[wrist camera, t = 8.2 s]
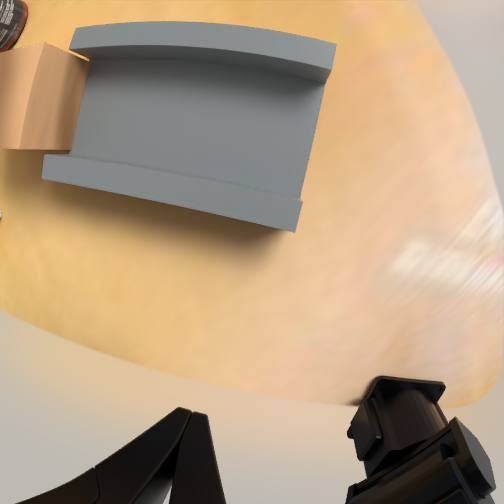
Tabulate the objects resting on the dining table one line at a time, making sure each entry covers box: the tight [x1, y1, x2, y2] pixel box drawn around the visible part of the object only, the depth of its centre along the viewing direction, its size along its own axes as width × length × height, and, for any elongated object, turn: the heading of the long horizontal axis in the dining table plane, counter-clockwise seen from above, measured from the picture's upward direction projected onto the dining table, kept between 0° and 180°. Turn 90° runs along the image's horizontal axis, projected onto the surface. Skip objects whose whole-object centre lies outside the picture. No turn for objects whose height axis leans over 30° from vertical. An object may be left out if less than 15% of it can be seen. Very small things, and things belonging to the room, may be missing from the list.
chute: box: [41, 21, 337, 233], centre depth 16 cm, size 15×10×4 cm, turn 78°
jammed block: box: [0, 42, 91, 150], centre depth 14 cm, size 6×6×5 cm
